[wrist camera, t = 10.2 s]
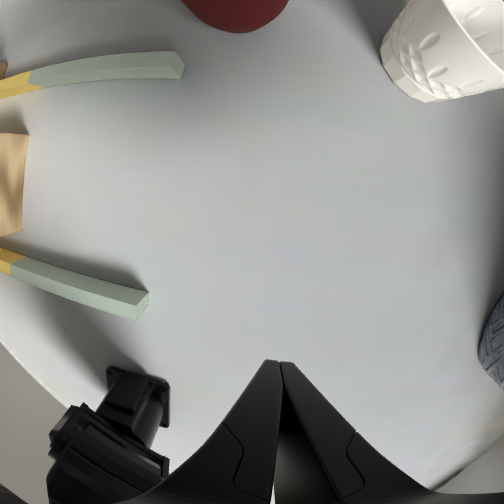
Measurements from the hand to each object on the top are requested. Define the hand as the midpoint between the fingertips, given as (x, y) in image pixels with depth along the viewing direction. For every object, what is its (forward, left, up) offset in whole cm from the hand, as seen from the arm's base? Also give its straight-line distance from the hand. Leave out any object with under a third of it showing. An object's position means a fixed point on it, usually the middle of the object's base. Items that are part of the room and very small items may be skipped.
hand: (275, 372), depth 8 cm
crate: (+3, +27, -12) cm, 29 cm away
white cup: (+18, -9, -12) cm, 23 cm away
